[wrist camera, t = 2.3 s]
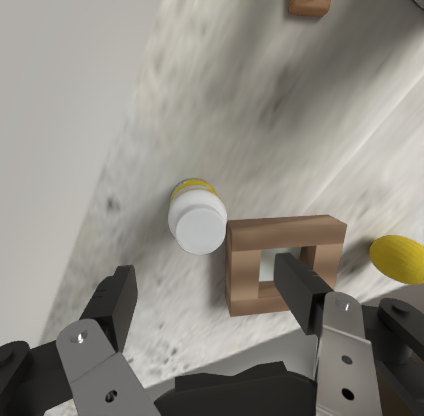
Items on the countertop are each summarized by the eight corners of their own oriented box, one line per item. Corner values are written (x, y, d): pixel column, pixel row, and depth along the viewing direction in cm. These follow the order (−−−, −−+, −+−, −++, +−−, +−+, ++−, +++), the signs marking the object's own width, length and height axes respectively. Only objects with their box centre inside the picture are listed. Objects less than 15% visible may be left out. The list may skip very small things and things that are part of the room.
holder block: (226, 220, 27) (232, 232, 24) (328, 214, 29) (347, 224, 26) (225, 297, 31) (230, 316, 28) (315, 288, 33) (330, 305, 29)
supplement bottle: (215, 219, 27) (233, 261, 18) (172, 221, 26) (166, 265, 17) (216, 176, 25) (235, 199, 16) (169, 177, 25) (162, 200, 16)
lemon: (354, 263, 32) (406, 301, 25) (358, 229, 30) (415, 260, 23) (388, 256, 33) (449, 292, 25) (393, 223, 31) (461, 251, 23)
